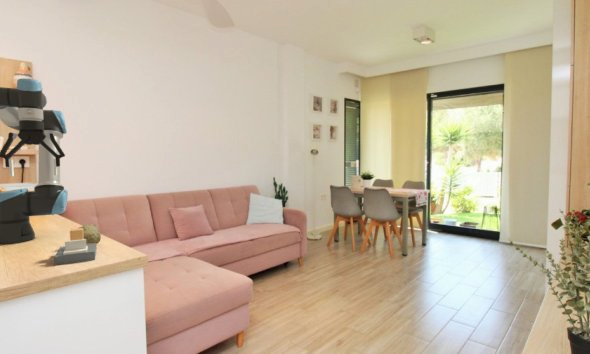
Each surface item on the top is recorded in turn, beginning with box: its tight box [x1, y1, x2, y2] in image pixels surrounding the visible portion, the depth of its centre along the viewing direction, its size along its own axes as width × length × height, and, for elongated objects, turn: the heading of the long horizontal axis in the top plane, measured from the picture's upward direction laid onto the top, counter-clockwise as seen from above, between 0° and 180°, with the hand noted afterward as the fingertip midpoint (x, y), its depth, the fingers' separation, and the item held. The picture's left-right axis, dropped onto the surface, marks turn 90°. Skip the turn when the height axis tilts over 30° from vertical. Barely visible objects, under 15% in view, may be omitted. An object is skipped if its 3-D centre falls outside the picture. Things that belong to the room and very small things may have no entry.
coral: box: [78, 222, 102, 245], centre depth 143 cm, size 10×10×10 cm
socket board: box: [54, 243, 97, 266], centre depth 127 cm, size 15×12×3 cm
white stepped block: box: [63, 239, 88, 255], centre depth 123 cm, size 7×7×4 cm
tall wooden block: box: [69, 227, 84, 241], centre depth 129 cm, size 4×4×10 cm
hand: (34, 175), depth 130 cm, fingers open, 13 cm apart
